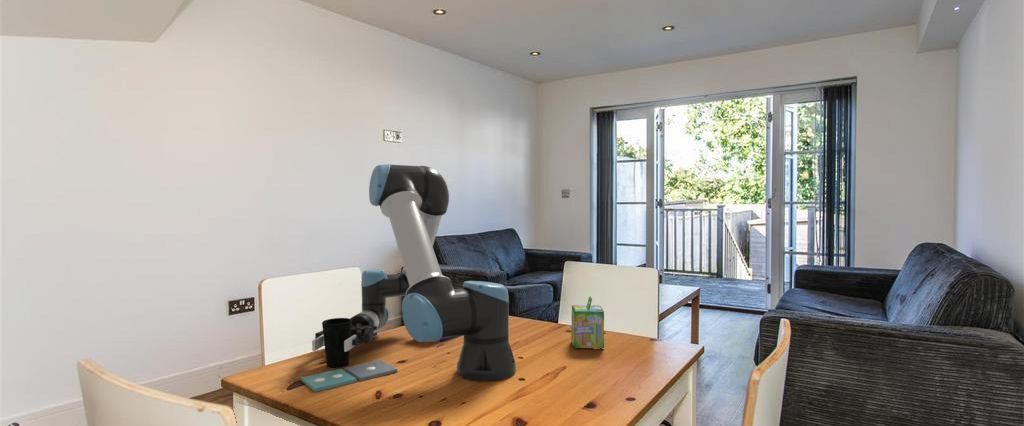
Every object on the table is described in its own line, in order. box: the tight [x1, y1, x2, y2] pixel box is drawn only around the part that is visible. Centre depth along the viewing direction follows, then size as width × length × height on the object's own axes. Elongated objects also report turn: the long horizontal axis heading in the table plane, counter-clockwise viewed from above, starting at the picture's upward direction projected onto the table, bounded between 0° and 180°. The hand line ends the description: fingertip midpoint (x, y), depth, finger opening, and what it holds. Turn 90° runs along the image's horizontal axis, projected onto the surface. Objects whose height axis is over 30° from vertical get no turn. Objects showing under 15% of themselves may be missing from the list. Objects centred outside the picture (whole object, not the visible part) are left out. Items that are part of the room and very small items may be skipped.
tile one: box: [344, 359, 399, 382], centre depth 131 cm, size 10×10×1 cm
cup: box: [321, 317, 352, 369], centre depth 136 cm, size 8×8×12 cm
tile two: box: [300, 368, 358, 393], centre depth 124 cm, size 10×10×1 cm
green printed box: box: [570, 296, 605, 349], centre depth 154 cm, size 9×9×15 cm
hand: (329, 346), depth 131 cm, fingers open, 8 cm apart
